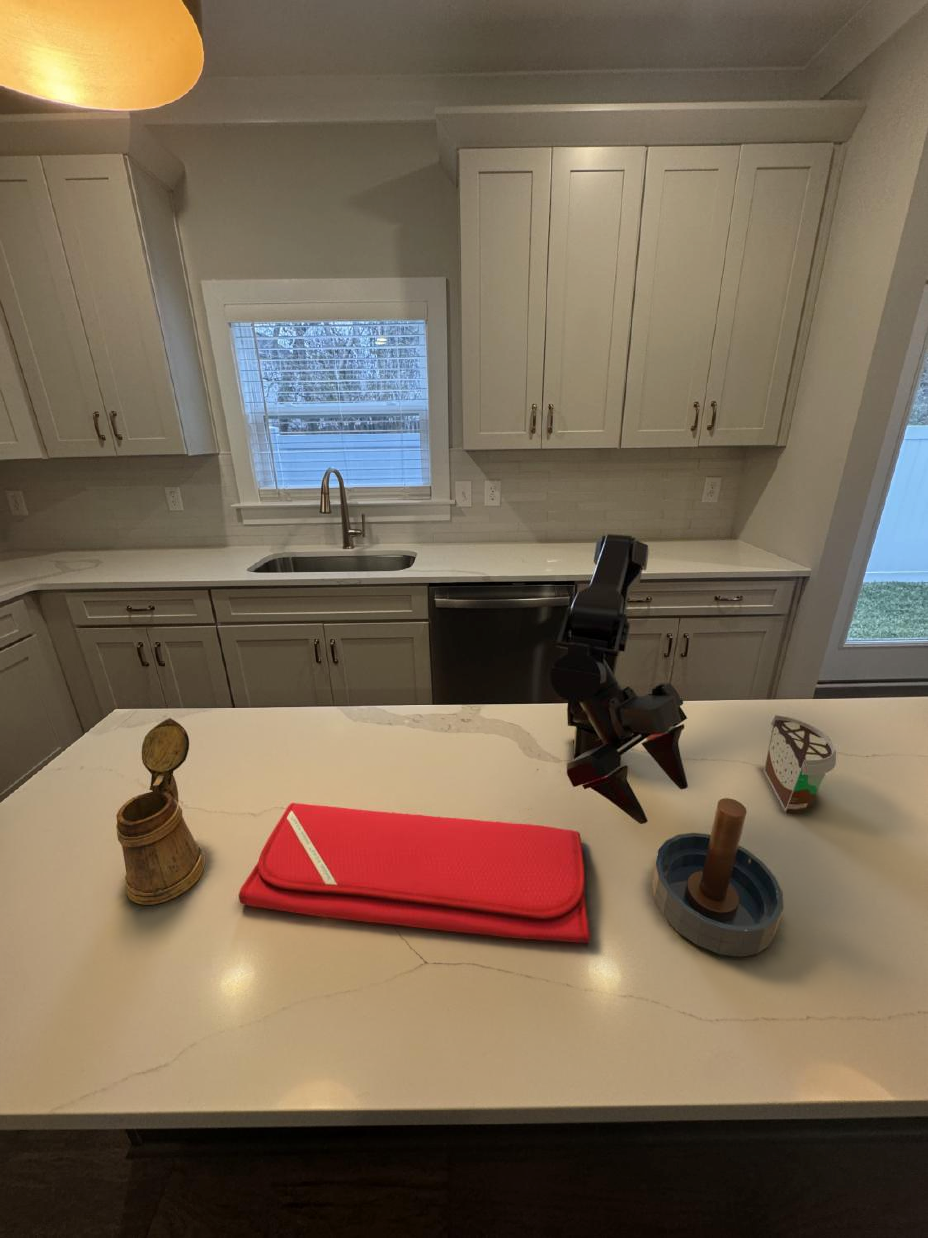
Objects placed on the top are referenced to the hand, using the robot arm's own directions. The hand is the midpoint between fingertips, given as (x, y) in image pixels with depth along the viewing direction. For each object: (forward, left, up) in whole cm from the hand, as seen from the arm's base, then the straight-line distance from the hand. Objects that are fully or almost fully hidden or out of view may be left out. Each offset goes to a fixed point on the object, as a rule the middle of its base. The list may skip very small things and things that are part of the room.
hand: (665, 805), depth 63 cm
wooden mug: (-63, -10, -9) cm, 64 cm away
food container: (+23, +16, -9) cm, 30 cm away
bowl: (+5, -6, -9) cm, 12 cm away
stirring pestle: (+5, -6, -9) cm, 11 cm away
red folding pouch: (-30, -7, -9) cm, 32 cm away
